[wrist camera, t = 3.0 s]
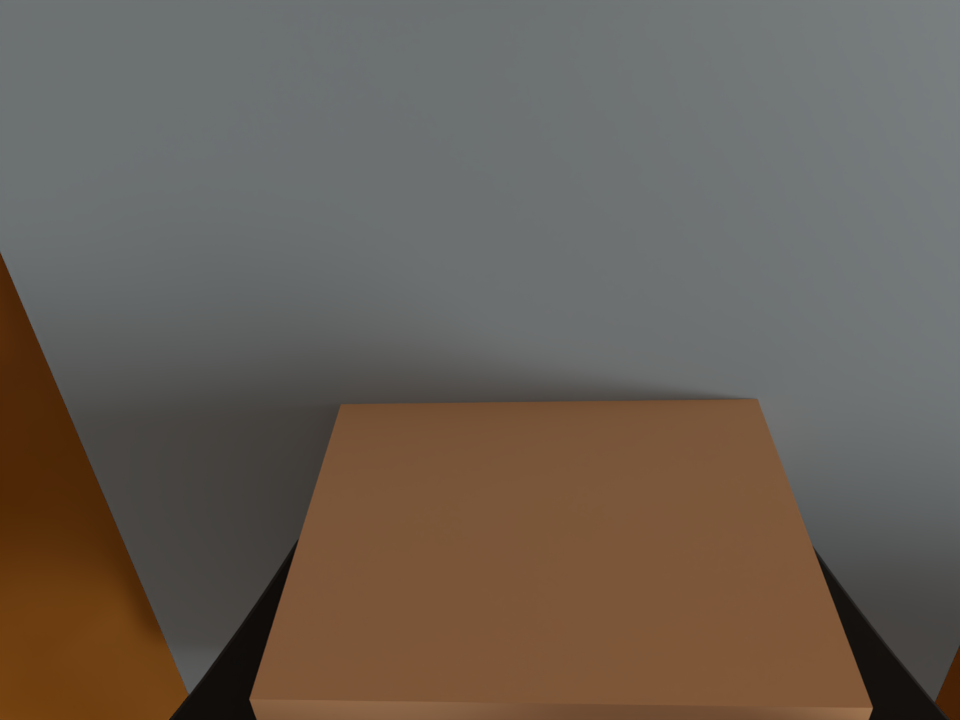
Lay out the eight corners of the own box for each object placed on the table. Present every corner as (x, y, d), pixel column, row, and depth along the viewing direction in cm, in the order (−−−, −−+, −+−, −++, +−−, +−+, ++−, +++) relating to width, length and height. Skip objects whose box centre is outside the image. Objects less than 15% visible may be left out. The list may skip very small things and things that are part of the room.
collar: (757, 398, 10) (873, 707, 6) (712, 661, 13) (777, 968, 9) (341, 404, 10) (249, 699, 7) (388, 657, 13) (339, 952, 10)
